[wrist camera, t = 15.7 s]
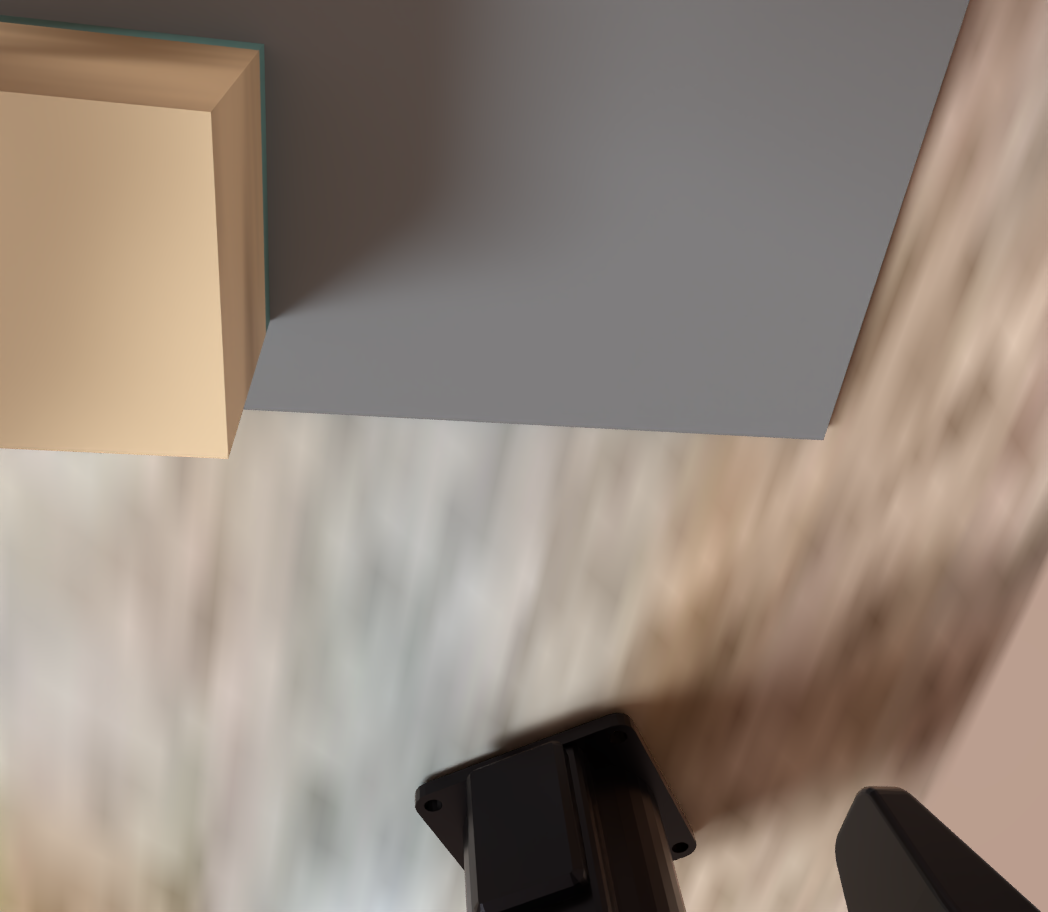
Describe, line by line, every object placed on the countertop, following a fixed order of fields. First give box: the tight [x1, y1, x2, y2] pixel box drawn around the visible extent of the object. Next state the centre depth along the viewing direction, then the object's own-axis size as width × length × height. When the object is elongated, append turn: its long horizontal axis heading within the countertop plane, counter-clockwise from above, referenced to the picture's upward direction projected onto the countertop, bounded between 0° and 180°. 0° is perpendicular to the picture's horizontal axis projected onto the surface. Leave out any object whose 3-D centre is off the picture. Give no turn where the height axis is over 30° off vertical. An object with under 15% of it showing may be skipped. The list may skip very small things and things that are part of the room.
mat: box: [0, 0, 969, 440], centre depth 18 cm, size 19×9×1 cm, turn 83°
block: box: [0, 15, 270, 459], centre depth 15 cm, size 5×5×5 cm
